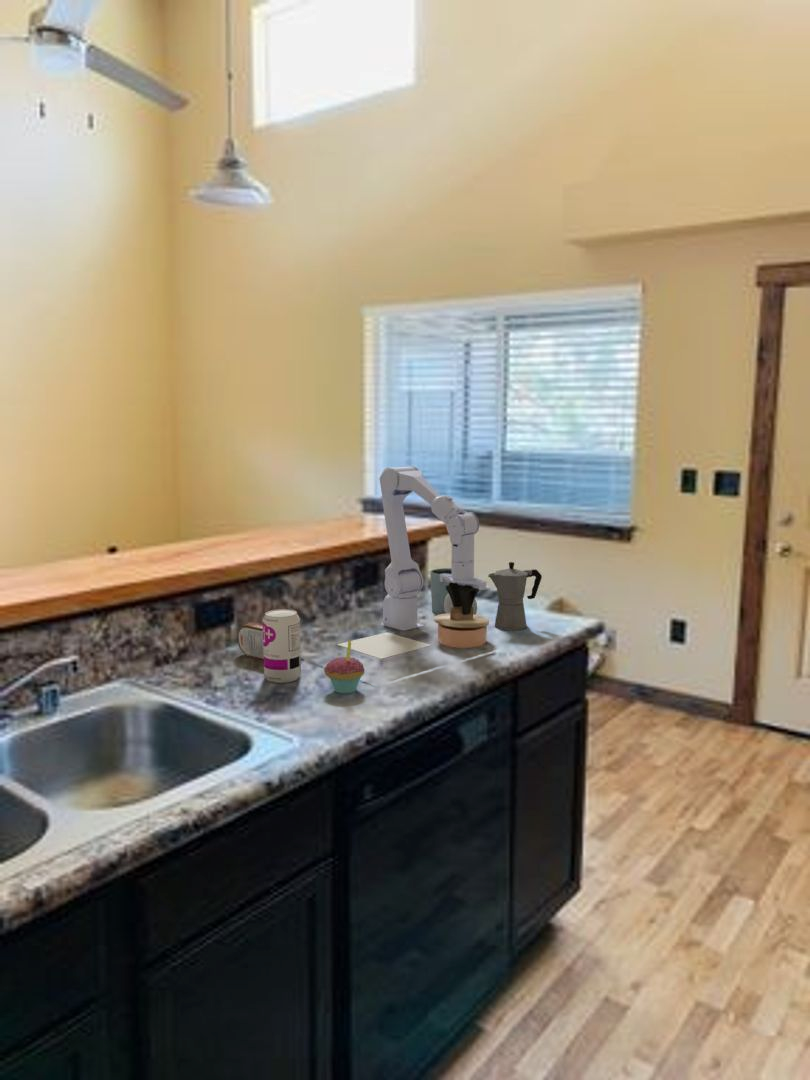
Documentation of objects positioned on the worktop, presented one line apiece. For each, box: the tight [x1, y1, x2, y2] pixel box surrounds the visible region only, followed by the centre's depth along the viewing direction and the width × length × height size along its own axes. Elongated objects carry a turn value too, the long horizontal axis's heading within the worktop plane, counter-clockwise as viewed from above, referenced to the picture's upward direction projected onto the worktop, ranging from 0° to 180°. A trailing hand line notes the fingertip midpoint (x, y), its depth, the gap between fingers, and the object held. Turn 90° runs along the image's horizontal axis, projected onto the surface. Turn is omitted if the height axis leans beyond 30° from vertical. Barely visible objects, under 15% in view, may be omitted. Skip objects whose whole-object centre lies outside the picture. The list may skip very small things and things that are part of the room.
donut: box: [444, 593, 478, 615], centre depth 239 cm, size 10×3×10 cm, turn 61°
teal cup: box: [429, 567, 451, 615], centre depth 254 cm, size 10×10×12 cm
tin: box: [236, 621, 264, 661], centre depth 207 cm, size 15×3×8 cm, turn 54°
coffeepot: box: [487, 561, 543, 631], centre depth 236 cm, size 15×9×18 cm, turn 103°
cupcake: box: [323, 637, 365, 694], centre depth 183 cm, size 9×8×12 cm
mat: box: [337, 631, 432, 660], centre depth 217 cm, size 17×17×1 cm
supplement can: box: [262, 609, 302, 684], centre depth 191 cm, size 8×8×15 cm
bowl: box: [437, 623, 488, 649], centre depth 220 cm, size 12×12×5 cm
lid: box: [433, 606, 490, 628], centre depth 219 cm, size 14×14×4 cm
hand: (462, 613), depth 219 cm, fingers closed on lid, 2 cm apart
